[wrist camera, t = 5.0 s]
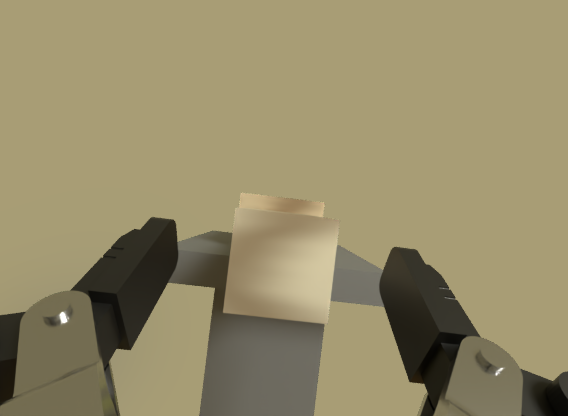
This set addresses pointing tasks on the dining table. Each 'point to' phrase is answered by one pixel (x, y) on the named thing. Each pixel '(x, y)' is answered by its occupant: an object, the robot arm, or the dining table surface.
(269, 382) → the charcoal pedestal
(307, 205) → the beech lever bar
